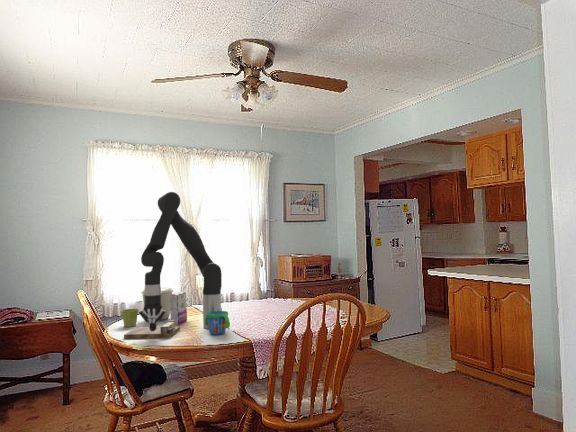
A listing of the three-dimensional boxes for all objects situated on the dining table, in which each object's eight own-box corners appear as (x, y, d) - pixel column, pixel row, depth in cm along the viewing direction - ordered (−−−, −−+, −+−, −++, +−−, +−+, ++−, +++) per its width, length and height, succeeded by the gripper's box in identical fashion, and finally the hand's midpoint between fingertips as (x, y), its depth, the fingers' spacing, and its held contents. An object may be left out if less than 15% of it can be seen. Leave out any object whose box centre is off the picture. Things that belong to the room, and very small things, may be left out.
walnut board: (180, 330, 217) (179, 323, 217) (170, 337, 201) (169, 330, 202) (137, 331, 218) (137, 324, 218) (123, 338, 202) (123, 331, 202)
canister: (148, 316, 261) (147, 282, 262) (177, 316, 260) (177, 281, 261) (136, 322, 243) (136, 285, 244) (168, 322, 242) (167, 284, 243)
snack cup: (199, 333, 209) (198, 312, 210) (217, 329, 217) (217, 309, 217) (217, 338, 198) (217, 315, 199) (236, 334, 205) (235, 312, 206)
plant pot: (120, 325, 236) (120, 309, 237) (138, 323, 240) (138, 308, 240) (120, 328, 228) (120, 311, 228) (139, 326, 231) (139, 310, 231)
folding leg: (170, 327, 216) (170, 320, 216) (176, 327, 216) (176, 320, 216) (160, 333, 202) (160, 326, 202) (166, 333, 202) (166, 325, 202)
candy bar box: (179, 320, 245) (178, 291, 245) (187, 320, 244) (186, 291, 244) (169, 324, 234) (169, 294, 234) (178, 324, 233) (177, 294, 233)
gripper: (168, 292, 208) (169, 328, 207) (141, 293, 208) (142, 329, 207) (163, 294, 201) (164, 332, 200) (135, 295, 201) (136, 332, 200)
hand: (152, 330), depth 204 cm, fingers closed
